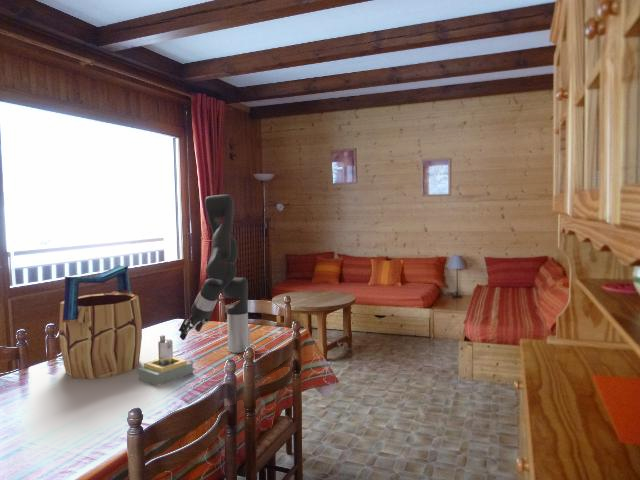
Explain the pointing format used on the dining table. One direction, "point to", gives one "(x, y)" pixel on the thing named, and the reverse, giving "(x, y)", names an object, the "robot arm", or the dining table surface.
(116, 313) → the bucket
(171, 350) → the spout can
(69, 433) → the dining table surface
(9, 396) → the dining table surface
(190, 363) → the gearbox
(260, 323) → the dining table surface
